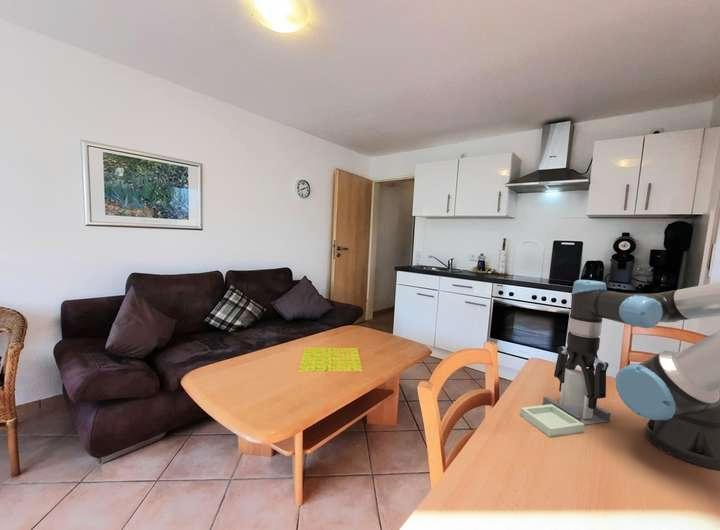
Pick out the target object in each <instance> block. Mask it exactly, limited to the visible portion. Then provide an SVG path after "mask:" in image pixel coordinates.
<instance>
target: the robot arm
mask: <svg viewBox="0 0 720 530" xmlns="http://www.w3.org/2000/svg"><path fill="white" fill-rule="evenodd" d="M712 317H720V281H718V282H713V283H712V282H711V283H706V284H703V285H702V284H700V285H696V286H691V287H686V288H685V287H684V288H681V289H676V290H675V289H674V290H670V291H669V290H668V291H663V292H658V293H624V292H617V291H611V290H607V284H606V282H604V281H598V280H591V279H590V280H589V279H578V280H577V279H576V280H575V281H574V282H573V287H572V292H571V300H570V314H569V320H568V329H567V330H568V332H567V338H566V339H567V340H566V344H567V346H566V345H565V346H558V347H557V358H556V359H557V360H556V364H555V369H554V374H553V376H554V378H557V379H558V380H559V387H558V388H559V389H558V391H559V392H560V395H559V402H560V404H561V405H562V400H563V390H564V379H565V369H573V370H576V368H577V366H578V367H580V368H581V370H580V371H583V373H584V378H585V383H586V388H587V392H588V395H585V398H584V407H583V416H582V418H584V419H588V418H592V417H593V409H595V408H596V406H598V404H597V403H598V399H605V398H606V397H607V370H608V368H609V363H608V362H606V361H605V362H603V361H602V360H601V359H599V356H598V351H599V349H600V342H601V338H600V336H601V333H602V325H603V324H602V323H603V319H604V320H610V321H614V322H617V323H621V324H625V325H629V326H630V327H638V328H643V329H652V328H655V326H656V325H658V324H659V323H675V322H680V321H687V320H692V319H693V320H694V319H695V320H696V319H704V318H712ZM615 388H616V392H617V394H618V396H619V398H620V400H621V401H622V402H623V403H624V405H625V406H626V407H627V408H628V409H630V410H631V412H633V413H635V414H636V415H638V416H640V417H642V418H644V419H646V420H647V419H648V421H647V423H646V424H645V430H644V435H645V436H646V438H647V440H648V441H650V442H651V443H652V444H653V445H655V446H656V447H657V448H658V449H661V450H662V451H664V452H666V453H668V454H670V455H671V456H674V457H676V458H679V459H680V460H683V461H686V462H688V463H691V464H694V465H696V466H701V467H704V468H709V469H712V470H720V329H719V330H718V331H716V332H713V333H712V334H710V335H708V336H707V337H705V338H703V339H701V340H699V341H697V342H696V343H693V344H692V345H689V346H688V347H686V348H683V350H681V351H672V350H663V351H661V352H659V353H657V354H656V355H653V356H652V357H650V358H648V359H647V360H645V361H642V362H641V363H637V364H636V363H635V364H634V363H633V364H628V365H626V366H623V367H621V368H620V369H619V370H618V372H617V373H616V375H615Z"/></svg>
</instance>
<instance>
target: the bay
mask: <svg viewBox="0 0 720 530" xmlns="http://www.w3.org/2000/svg"><path fill="white" fill-rule="evenodd" d="M549 404H552V405H554V406H556V407H557V408H559V409H561V410H562V411H564V412H565V413H567V414H569V415H570V416H572V417H573V418H575V419H577V420H578V421H580V422H581V423H583V424H584V426H589V425H597V424H604V423H610V422H611V414H612V413H611V412H609V411H607V410H605V409H603V408H602V407H600V406H598V405H596V408H595V409H593V417H592V418H588V419H584V418H582V416H579V415H577V414H576V413H574V412H572V411H571V410H569V409H567V408H566V407H564V406H562V405H561V404H560V401H556V400H554V399H553V398H551V397H549V396H543V400H542V405H549Z"/></svg>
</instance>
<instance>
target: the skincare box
mask: <svg viewBox="0 0 720 530" xmlns="http://www.w3.org/2000/svg"><path fill="white" fill-rule="evenodd" d="M585 395H588V392H587V388H586V383H585V378H584V373H583V371H582V370H578V369H575V370H573V369H565V379H564V390H563V400H562V406H564V407H566V408H567V409H569V410H571V411H572V412H574V413H576V414H577V415H579V416H583V407H584V398H585Z"/></svg>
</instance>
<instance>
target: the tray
mask: <svg viewBox="0 0 720 530" xmlns="http://www.w3.org/2000/svg"><path fill="white" fill-rule="evenodd" d="M519 411H520V412H519V415H520V416H521V417H522V418H523V419H525V420H526V421H527V422H529V423H530V424H531V425H532V426H534V427H535V428H537V429H538V430H539V431H541V432H542V433H543V434H545V436H547V437H549V438H554V437H555V438H556V437H561V436H568V435H573V434H581V433H584V432H585V425H584V424H583V423H581V422H580V421H578V420H577V419H575V418H573V417H572V416H570V415H569V414H567V413H565V412H564V411H562V410H561V409H559V408H557V407H556V406H554V405H552V404H549V405H543V404H541V405H533V406H532V405H531V406H525V407H520V410H519Z"/></svg>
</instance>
